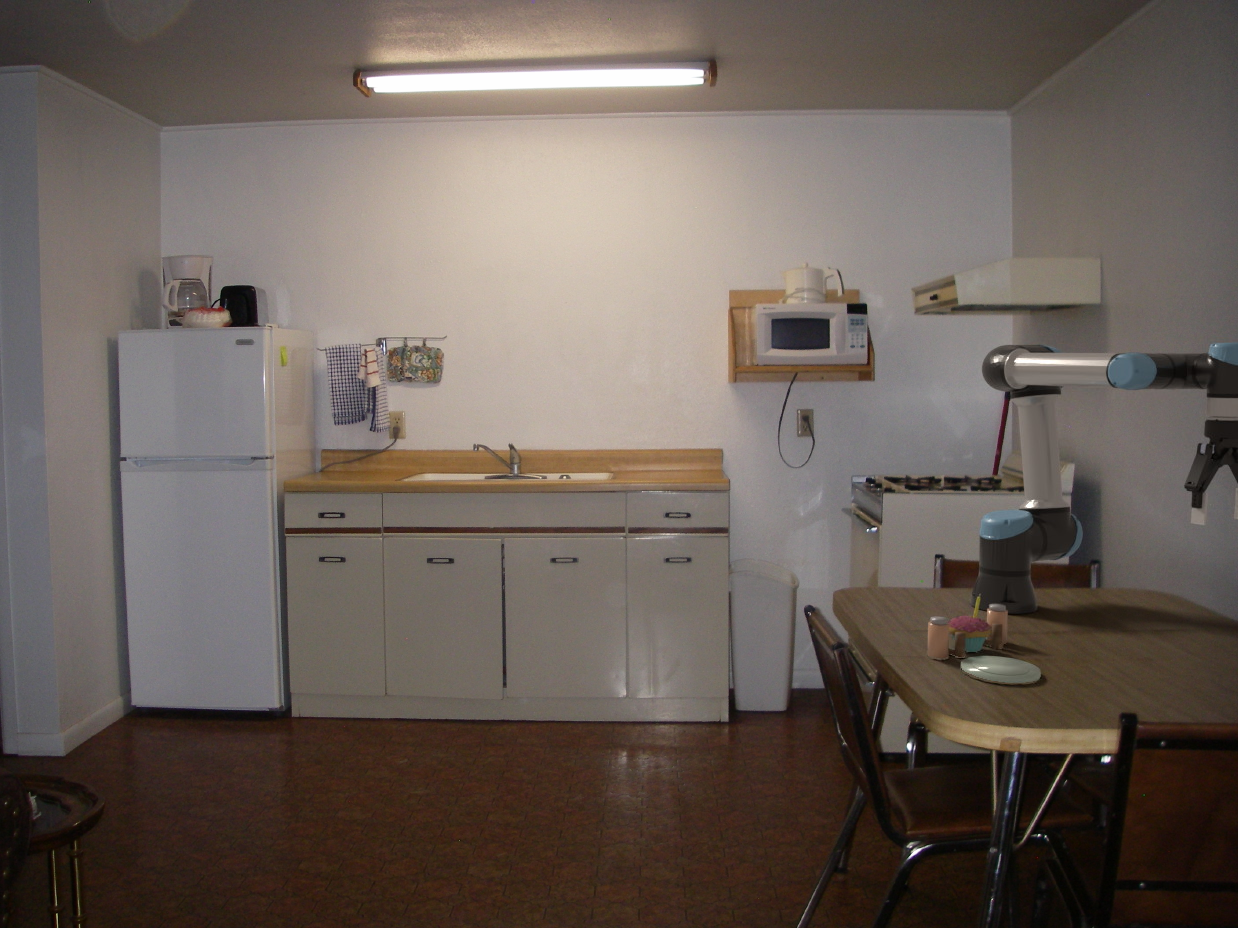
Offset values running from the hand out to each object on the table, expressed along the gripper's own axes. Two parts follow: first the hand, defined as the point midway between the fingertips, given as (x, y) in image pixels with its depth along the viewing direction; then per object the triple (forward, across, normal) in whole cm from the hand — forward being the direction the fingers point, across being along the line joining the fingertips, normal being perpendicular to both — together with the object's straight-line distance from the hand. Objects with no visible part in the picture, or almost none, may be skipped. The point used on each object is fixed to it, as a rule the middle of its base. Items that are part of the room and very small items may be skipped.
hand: (1220, 522), depth 186 cm
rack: (+26, -48, +19) cm, 58 cm away
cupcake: (+27, -48, +19) cm, 58 cm away
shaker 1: (+26, -57, +18) cm, 66 cm away
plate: (+26, -54, +5) cm, 60 cm away
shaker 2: (+26, -39, +21) cm, 51 cm away
